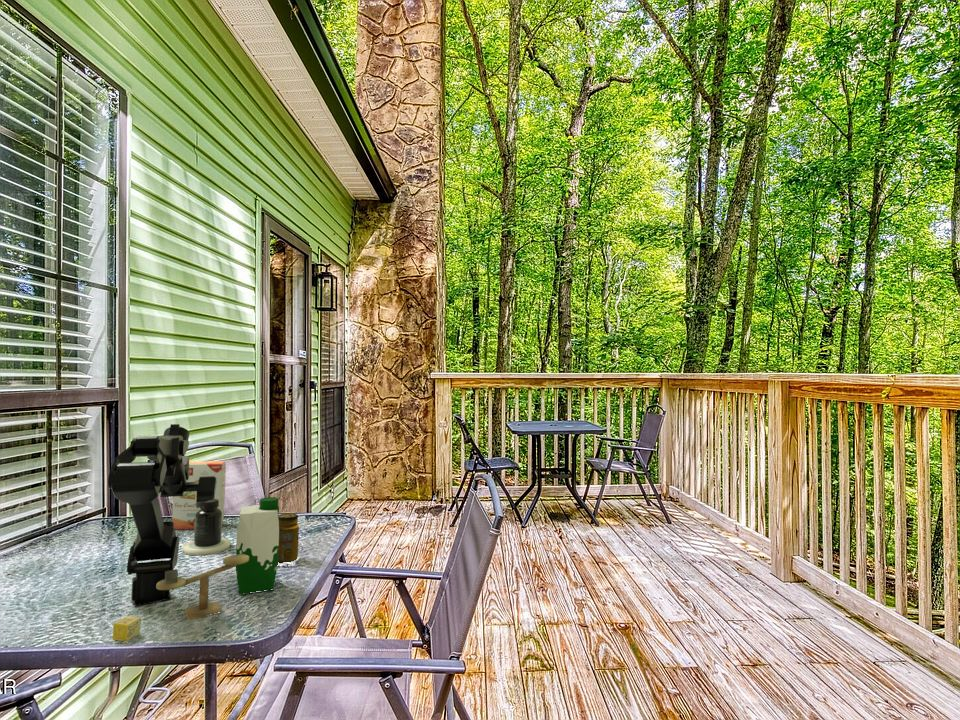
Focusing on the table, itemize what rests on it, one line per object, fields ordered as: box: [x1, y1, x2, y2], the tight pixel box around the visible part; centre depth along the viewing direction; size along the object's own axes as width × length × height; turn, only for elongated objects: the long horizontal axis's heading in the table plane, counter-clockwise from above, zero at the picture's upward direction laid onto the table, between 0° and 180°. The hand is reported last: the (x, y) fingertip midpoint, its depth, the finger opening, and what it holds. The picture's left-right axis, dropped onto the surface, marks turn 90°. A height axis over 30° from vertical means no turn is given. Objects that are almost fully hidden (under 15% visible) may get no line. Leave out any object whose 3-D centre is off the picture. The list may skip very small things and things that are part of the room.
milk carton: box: [235, 496, 280, 595], centre depth 120 cm, size 9×9×20 cm
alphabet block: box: [112, 615, 142, 642], centre depth 96 cm, size 3×3×3 cm
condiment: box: [278, 512, 300, 563], centre depth 137 cm, size 7×8×12 cm
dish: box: [181, 537, 231, 556], centre depth 146 cm, size 12×12×1 cm
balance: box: [156, 554, 249, 621], centre depth 106 cm, size 17×5×10 cm, turn 126°
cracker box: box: [171, 460, 227, 531], centre depth 167 cm, size 14×6×21 cm, turn 104°
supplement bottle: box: [193, 499, 223, 547], centre depth 146 cm, size 7×7×12 cm
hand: (178, 507), depth 137 cm, fingers open, 9 cm apart
